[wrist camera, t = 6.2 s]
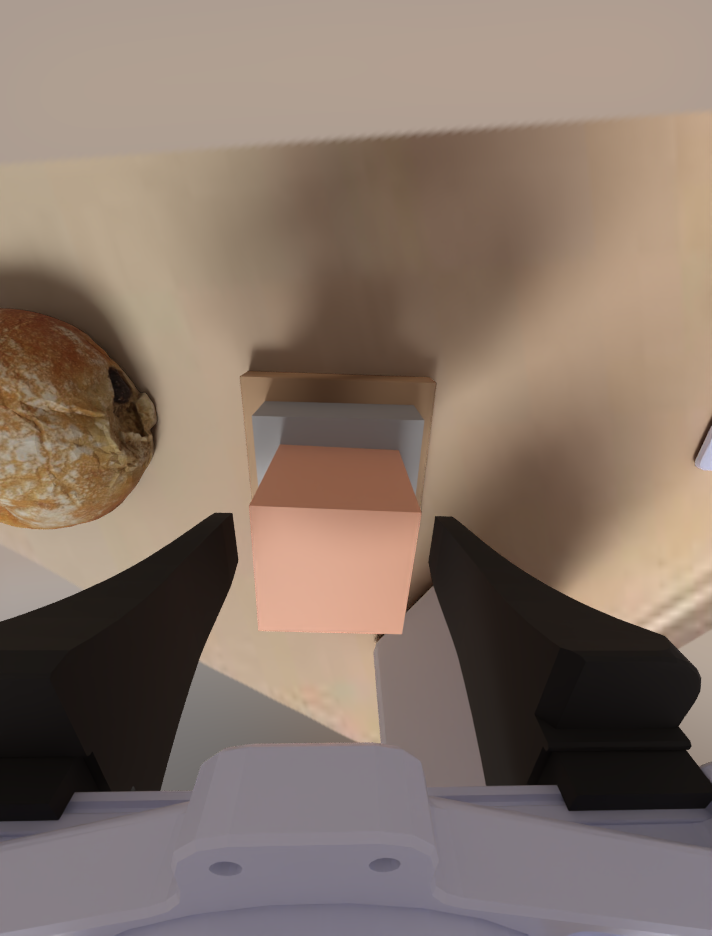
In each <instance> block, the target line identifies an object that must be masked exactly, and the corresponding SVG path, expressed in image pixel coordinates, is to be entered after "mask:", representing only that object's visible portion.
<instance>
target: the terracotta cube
mask: <svg viewBox="0 0 712 936" xmlns="http://www.w3.org/2000/svg"><path fill="white" fill-rule="evenodd" d="M249 511H250V525H251V538H252V551H253V564H254V577H255V591H256V604H257V617H258V630H259V631H285V632H325V633H366V634H402V631H403V625H404V619H405V613H406V607H407V600H408V594H409V588H410V582H411V575H412V569H413V563H414V557H415V551H416V544H417V538H418V532H419V526H420V519H421V510H420V507H419V504H418V502H417V499H416V496H415V493H414V491H413V488H412V485H411V482H410V480H409V477H408V474H407V471H406V469H405V466H404V463H403V460H402V458H401V455H400V452H399V450H386V449H365V448H344V447H324V446H303V445H283V444H280V445H279V447H278V449H277V451H276V453H275V455H274V457H273V459H272V461H271V463H270V465H269V467H268V469H267V471H266V473H265V475H264V477H263V479H262V481H261V483H260V485H259V487H258V489H257V491H256V493H255V495H254V497H253V499H252V501H251V503H250V505H249Z"/></svg>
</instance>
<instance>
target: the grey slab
mask: <svg viewBox="0 0 712 936" xmlns="http://www.w3.org/2000/svg"><path fill="white" fill-rule="evenodd" d="M252 425H253V436H254V446H255V457H256V468H257V479H258V487H259V485H260V483H261V481H262V479H263V477H264V475H265V473H266V471H267V469H268V467H269V465H270V463H271V461H272V459H273V457H274V455H275V453H276V451H277V449H278V447H279V445H280V444H283V445H303V446H324V447H344V448H365V449H386V450H399V452H400V455H401V458H402V460H403V463H404V466H405V469H406V471H407V474H408V477H409V480H410V482H411V485H412V488H413V491H414V493H415V496H416V488H417V479H418V471H419V462H420V454H421V445H422V437H423V428H424V419H423V418H422V416H421V415H420V413H419V412H418V410H417V409H416V408H415V406H414V405H391V404H354V403H317V402H279V401H265V402H264V403H263V404H262V405H261V406H260V407H259V408H258V409H257V411H256V412H255V413H254V414H253V415H252Z"/></svg>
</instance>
